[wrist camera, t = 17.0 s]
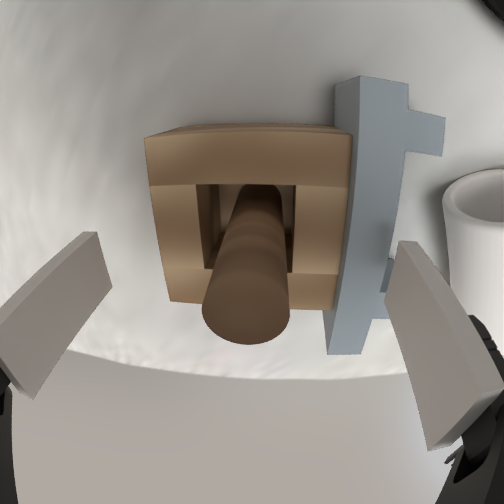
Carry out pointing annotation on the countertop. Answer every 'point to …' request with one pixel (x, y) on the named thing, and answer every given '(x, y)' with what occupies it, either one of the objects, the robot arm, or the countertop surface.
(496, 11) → the bottle
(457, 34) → the countertop surface
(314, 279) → the block
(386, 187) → the backstop wall
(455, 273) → the mug
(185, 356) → the countertop surface
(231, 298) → the dowel
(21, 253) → the countertop surface
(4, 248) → the countertop surface
